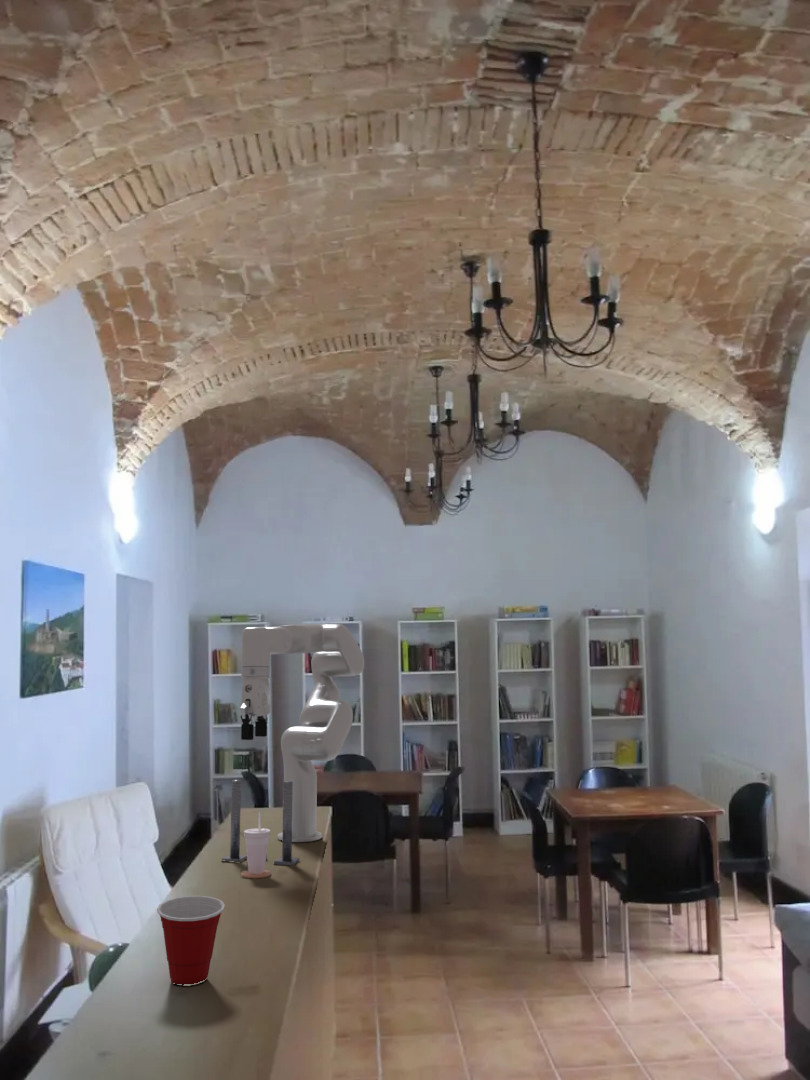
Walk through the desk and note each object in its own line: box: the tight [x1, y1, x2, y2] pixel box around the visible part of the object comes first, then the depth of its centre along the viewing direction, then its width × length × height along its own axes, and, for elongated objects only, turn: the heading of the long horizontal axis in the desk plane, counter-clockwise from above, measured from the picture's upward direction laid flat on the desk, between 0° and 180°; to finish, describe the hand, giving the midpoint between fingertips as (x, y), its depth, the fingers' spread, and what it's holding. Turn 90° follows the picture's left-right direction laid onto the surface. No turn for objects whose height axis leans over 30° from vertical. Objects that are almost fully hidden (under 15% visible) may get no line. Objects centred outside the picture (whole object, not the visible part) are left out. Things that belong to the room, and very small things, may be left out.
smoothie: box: [243, 811, 271, 874], centre depth 222 cm, size 6×6×14 cm
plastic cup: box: [156, 895, 226, 985], centre depth 151 cm, size 11×11×12 cm
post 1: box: [221, 779, 247, 863], centre depth 238 cm, size 5×5×20 cm
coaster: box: [240, 869, 272, 880], centre depth 221 cm, size 7×7×1 cm
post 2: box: [273, 781, 300, 866], centre depth 235 cm, size 5×5×20 cm
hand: (254, 738), depth 246 cm, fingers open, 9 cm apart
